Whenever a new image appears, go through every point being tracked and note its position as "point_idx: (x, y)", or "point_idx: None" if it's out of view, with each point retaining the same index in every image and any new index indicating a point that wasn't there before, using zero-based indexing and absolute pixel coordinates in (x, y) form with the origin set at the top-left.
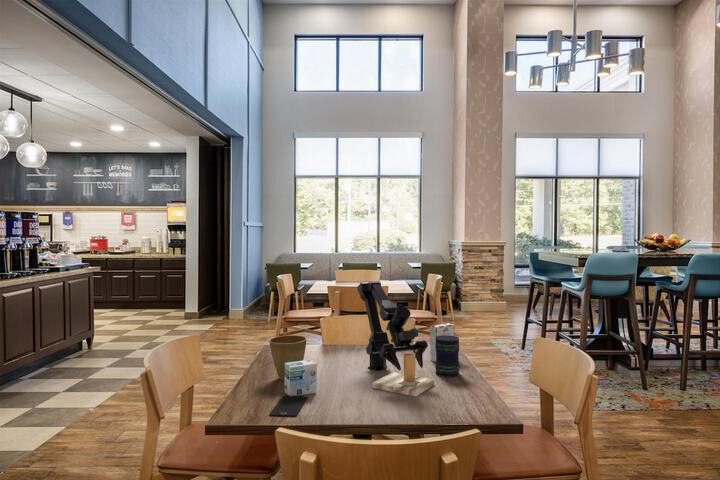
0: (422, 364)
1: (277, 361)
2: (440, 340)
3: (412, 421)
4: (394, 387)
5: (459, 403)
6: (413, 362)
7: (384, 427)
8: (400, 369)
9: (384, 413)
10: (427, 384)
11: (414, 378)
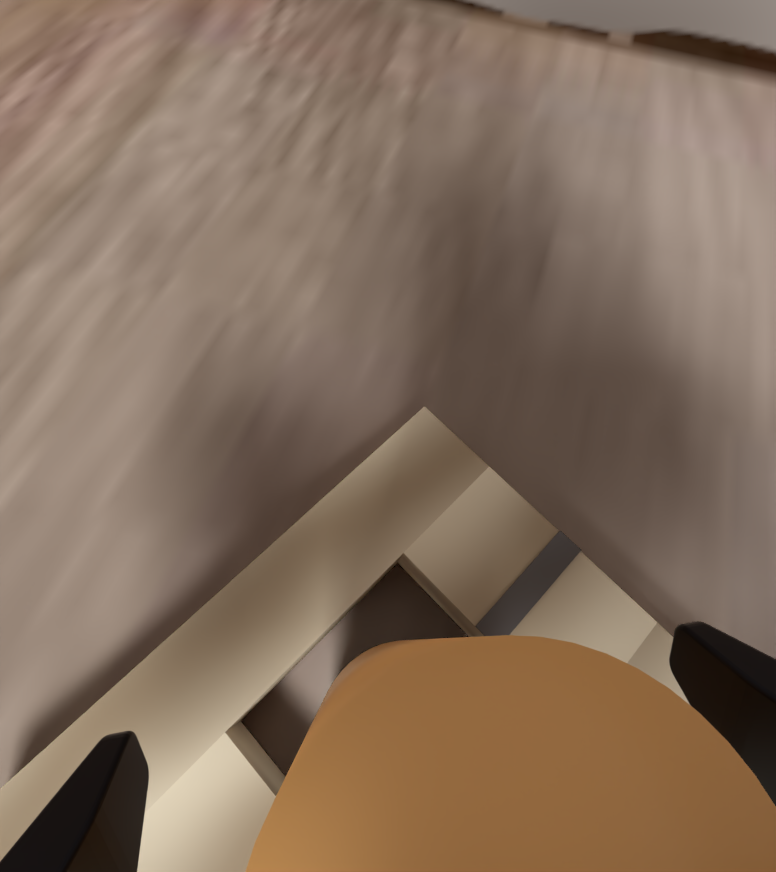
0: (81, 775)
1: None
2: None
3: (573, 60)
4: (637, 608)
5: (118, 204)
6: (394, 652)
7: (741, 43)
8: (686, 626)
9: (736, 188)
10: (171, 639)
11: (353, 661)
